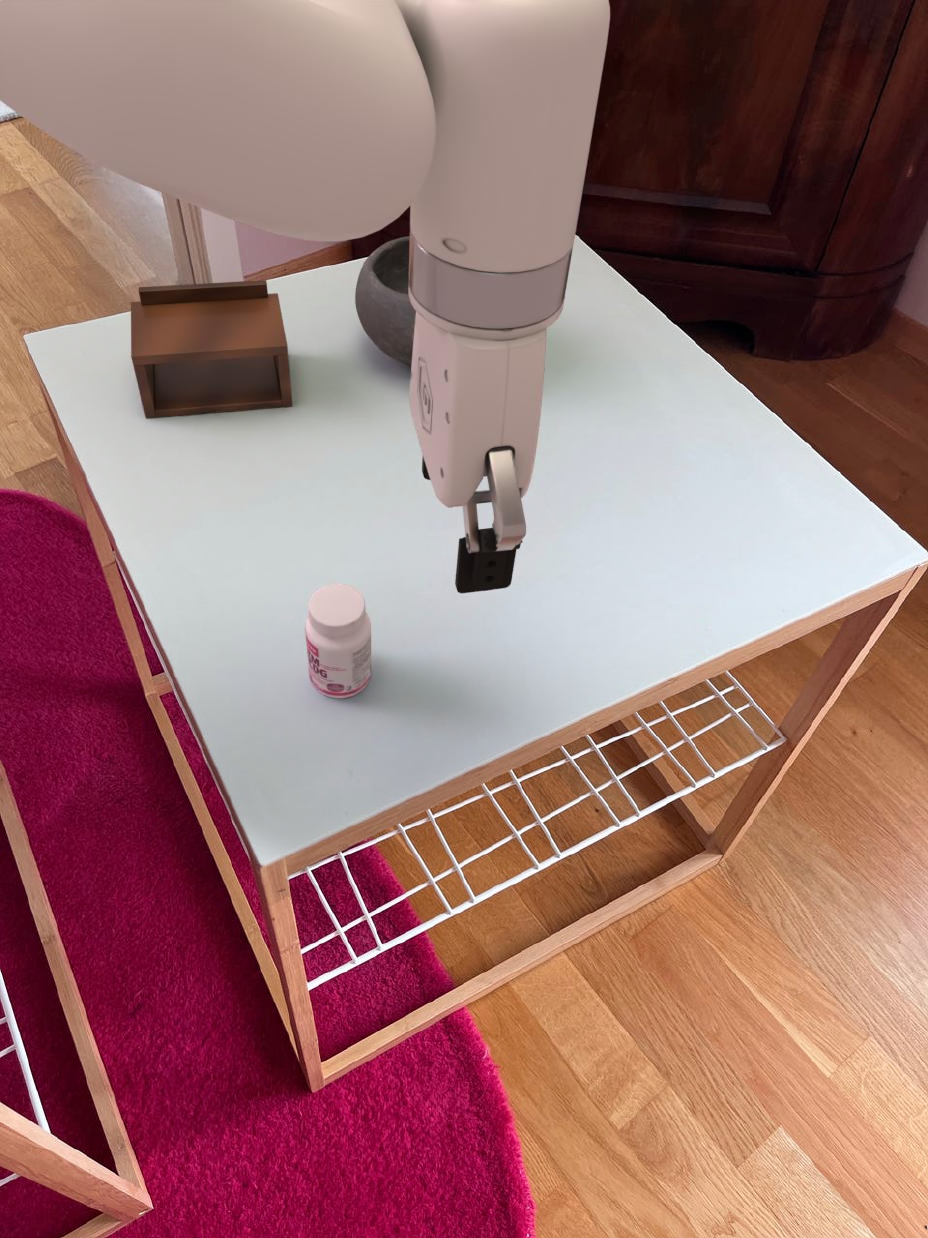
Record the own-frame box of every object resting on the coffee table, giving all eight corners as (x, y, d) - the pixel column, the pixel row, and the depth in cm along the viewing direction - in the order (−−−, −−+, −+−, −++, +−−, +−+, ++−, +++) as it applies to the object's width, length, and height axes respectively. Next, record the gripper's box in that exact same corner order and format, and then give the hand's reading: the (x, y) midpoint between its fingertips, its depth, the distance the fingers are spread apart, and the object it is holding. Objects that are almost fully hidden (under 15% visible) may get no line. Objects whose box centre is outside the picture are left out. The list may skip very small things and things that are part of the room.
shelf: (145, 418, 91) (127, 341, 84) (144, 363, 96) (127, 287, 90) (292, 406, 94) (286, 331, 87) (283, 353, 99) (276, 278, 93)
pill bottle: (296, 684, 72) (288, 612, 66) (331, 641, 75) (326, 569, 69) (350, 710, 71) (347, 639, 64) (383, 666, 74) (383, 594, 67)
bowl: (383, 301, 107) (383, 215, 99) (510, 329, 105) (521, 243, 97) (335, 374, 97) (331, 286, 90) (474, 407, 95) (483, 319, 88)
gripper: (379, 184, 49) (379, 442, 62) (449, 385, 38) (431, 646, 52) (518, 178, 51) (489, 432, 64) (623, 371, 40) (563, 628, 53)
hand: (463, 528), depth 58 cm, fingers open, 9 cm apart
